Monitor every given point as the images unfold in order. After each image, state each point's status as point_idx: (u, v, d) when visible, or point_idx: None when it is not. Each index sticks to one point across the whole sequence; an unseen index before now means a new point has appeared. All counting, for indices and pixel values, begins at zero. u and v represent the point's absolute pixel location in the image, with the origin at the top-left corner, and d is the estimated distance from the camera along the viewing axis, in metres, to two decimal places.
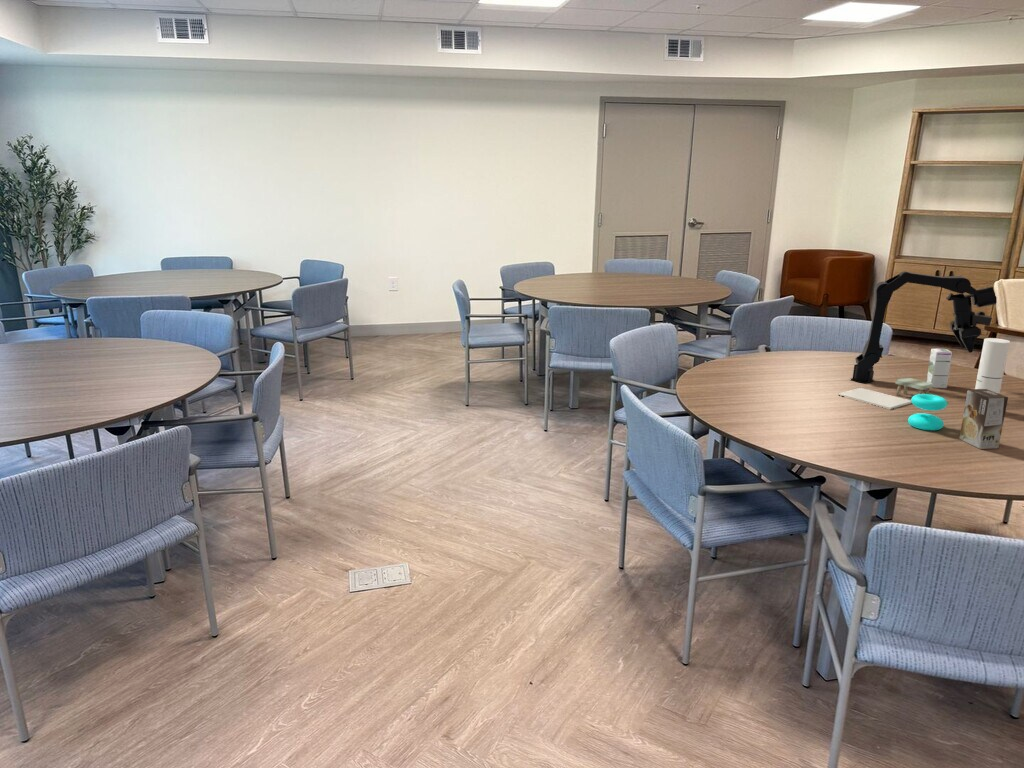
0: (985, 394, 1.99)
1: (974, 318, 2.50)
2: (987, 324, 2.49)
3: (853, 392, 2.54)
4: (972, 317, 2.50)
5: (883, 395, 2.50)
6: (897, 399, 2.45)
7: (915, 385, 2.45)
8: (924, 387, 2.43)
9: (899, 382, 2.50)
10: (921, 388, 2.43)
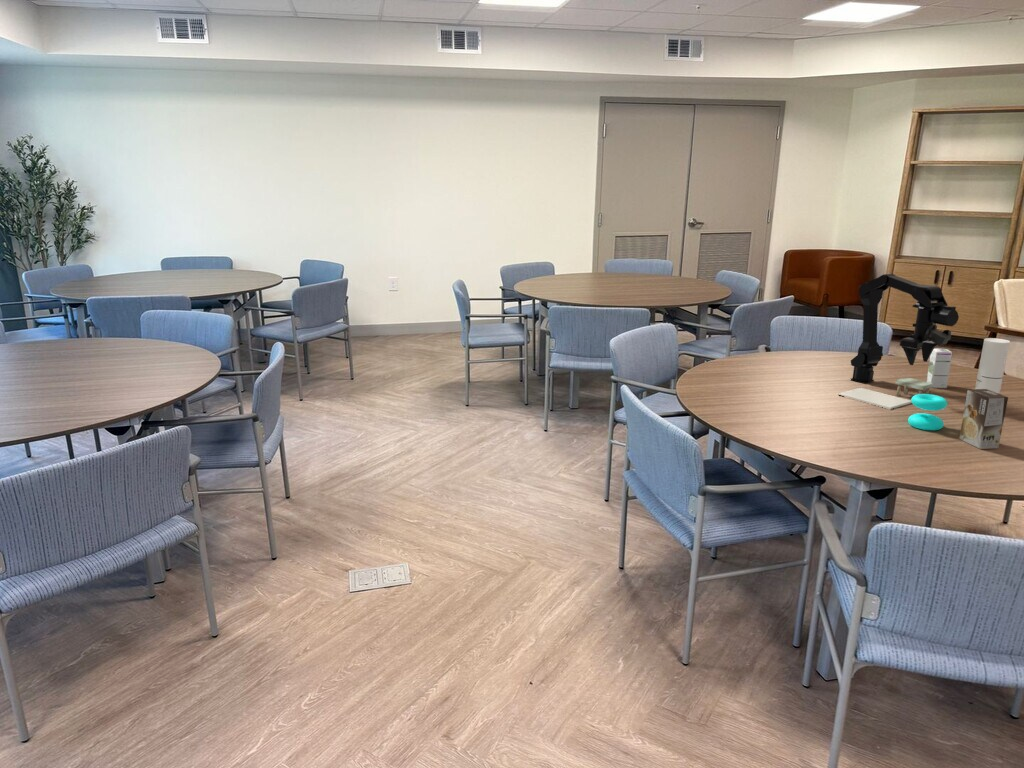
0: (985, 394, 1.99)
1: (927, 332, 2.39)
2: (937, 343, 2.37)
3: (853, 392, 2.54)
4: (926, 331, 2.40)
5: (883, 395, 2.50)
6: (897, 399, 2.45)
7: (915, 385, 2.45)
8: (924, 387, 2.43)
9: (899, 382, 2.50)
10: (921, 388, 2.43)
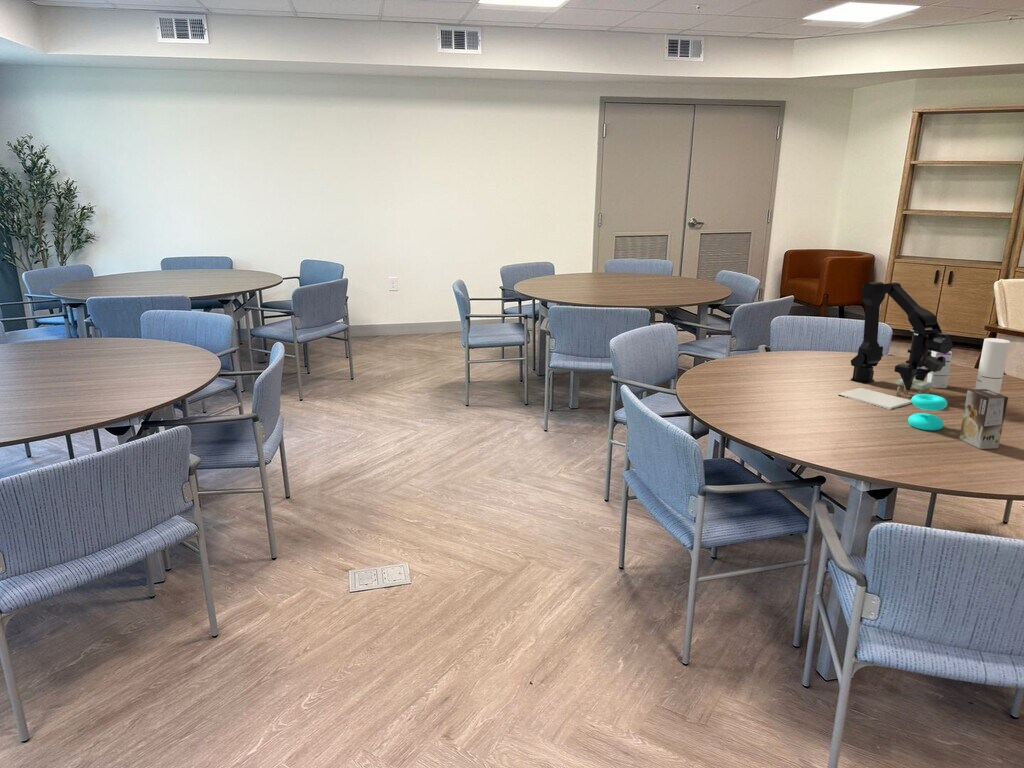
0: (985, 394, 1.99)
1: (921, 359, 2.42)
2: (932, 369, 2.40)
3: (853, 392, 2.54)
4: (921, 357, 2.43)
5: (883, 395, 2.50)
6: (897, 399, 2.45)
7: (915, 385, 2.45)
8: (924, 387, 2.43)
9: (899, 382, 2.50)
10: (921, 388, 2.43)
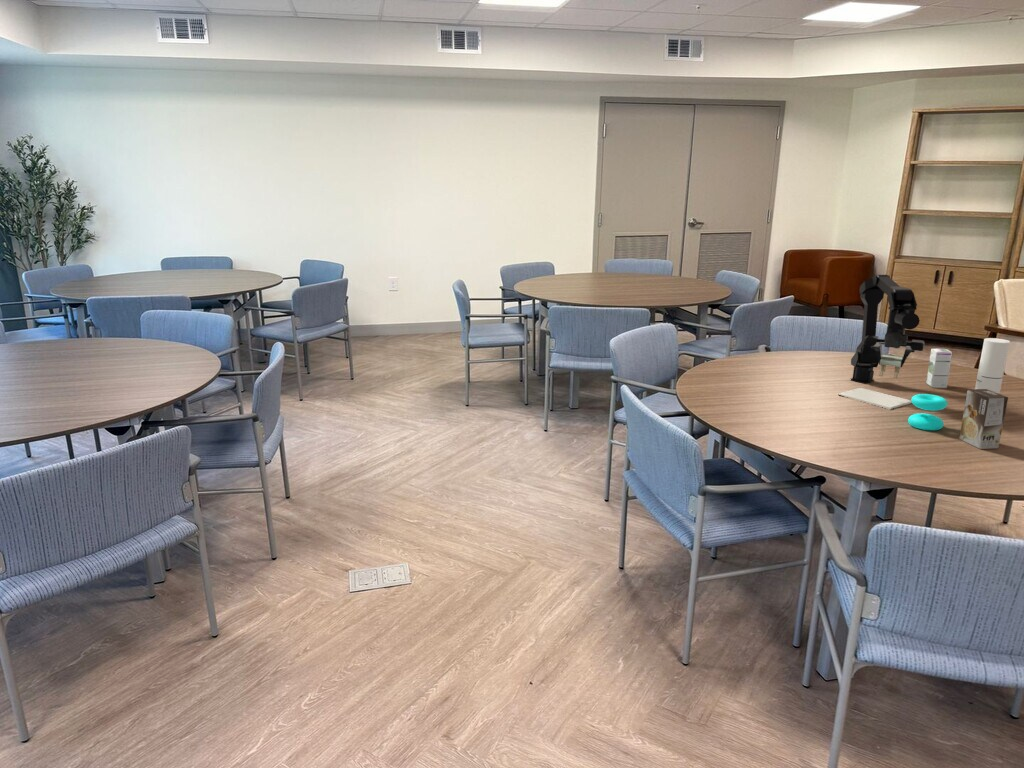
0: (985, 394, 1.99)
1: None
2: None
3: (853, 392, 2.54)
4: None
5: (883, 395, 2.50)
6: (897, 399, 2.45)
7: None
8: (882, 362, 2.42)
9: None
10: None
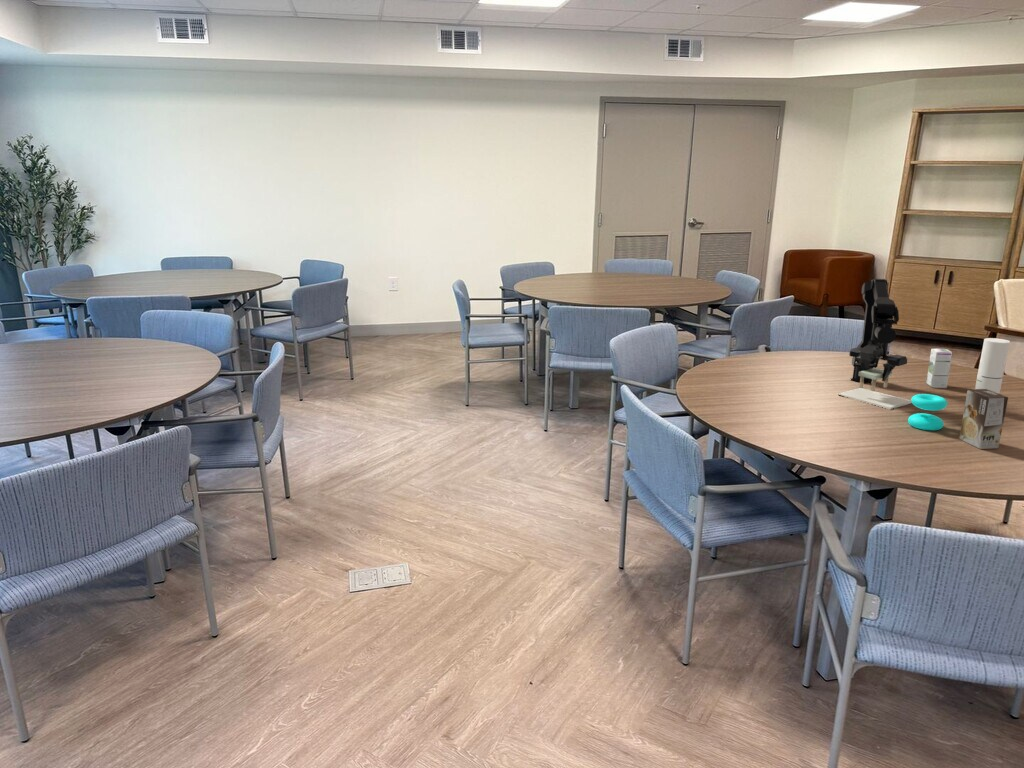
0: (985, 394, 1.99)
1: None
2: None
3: (853, 392, 2.54)
4: None
5: (883, 395, 2.50)
6: (897, 399, 2.45)
7: None
8: (860, 374, 2.46)
9: None
10: None
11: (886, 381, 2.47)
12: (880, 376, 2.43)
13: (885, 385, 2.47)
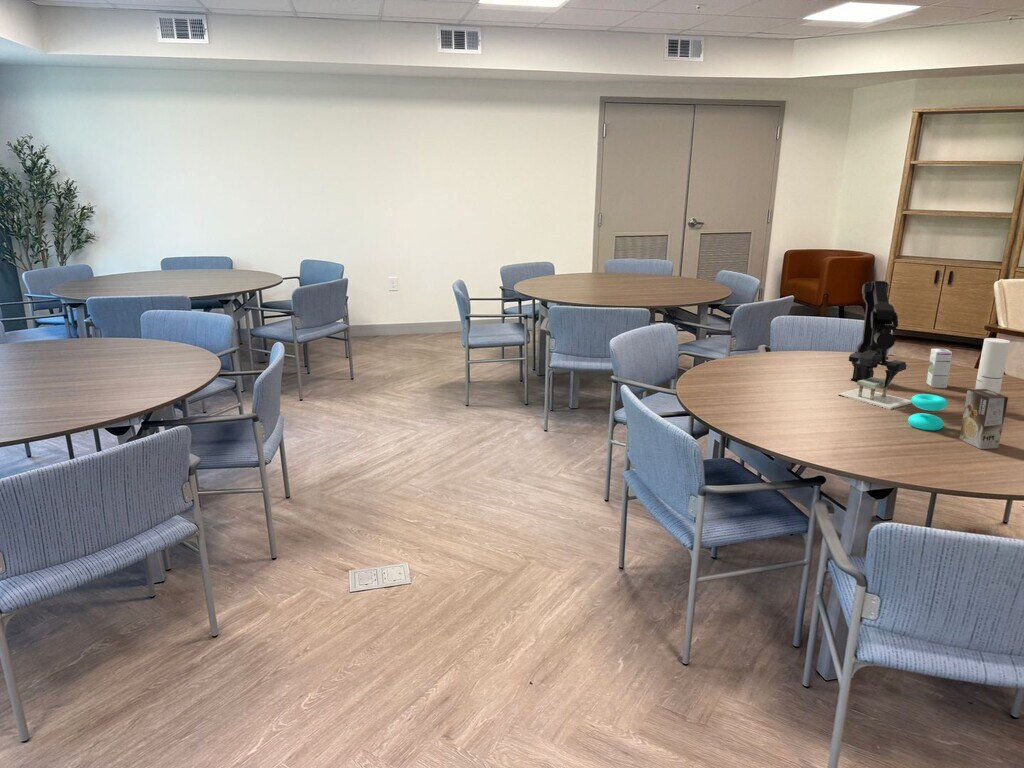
0: (985, 394, 1.99)
1: None
2: None
3: (853, 392, 2.54)
4: None
5: None
6: (897, 399, 2.45)
7: None
8: (859, 383, 2.47)
9: None
10: None
11: (885, 390, 2.48)
12: (879, 385, 2.44)
13: (884, 394, 2.48)
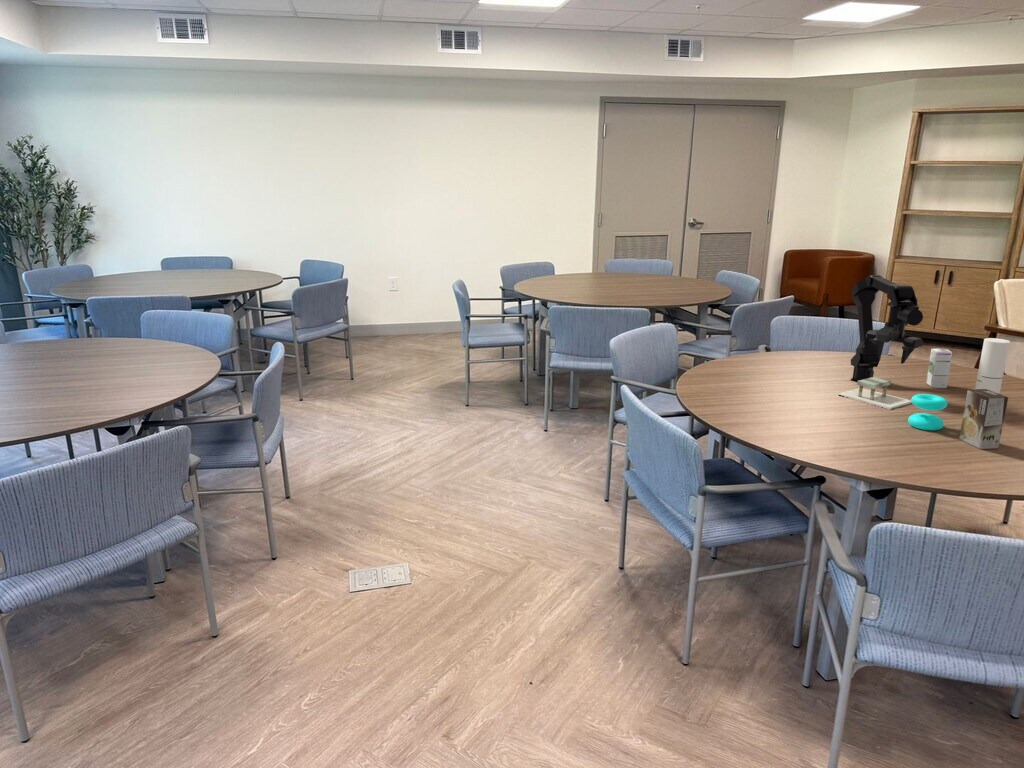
0: (985, 394, 1.99)
1: None
2: None
3: (853, 392, 2.54)
4: None
5: None
6: (897, 399, 2.45)
7: None
8: (859, 383, 2.47)
9: None
10: None
11: (885, 390, 2.48)
12: (879, 385, 2.44)
13: (884, 394, 2.48)
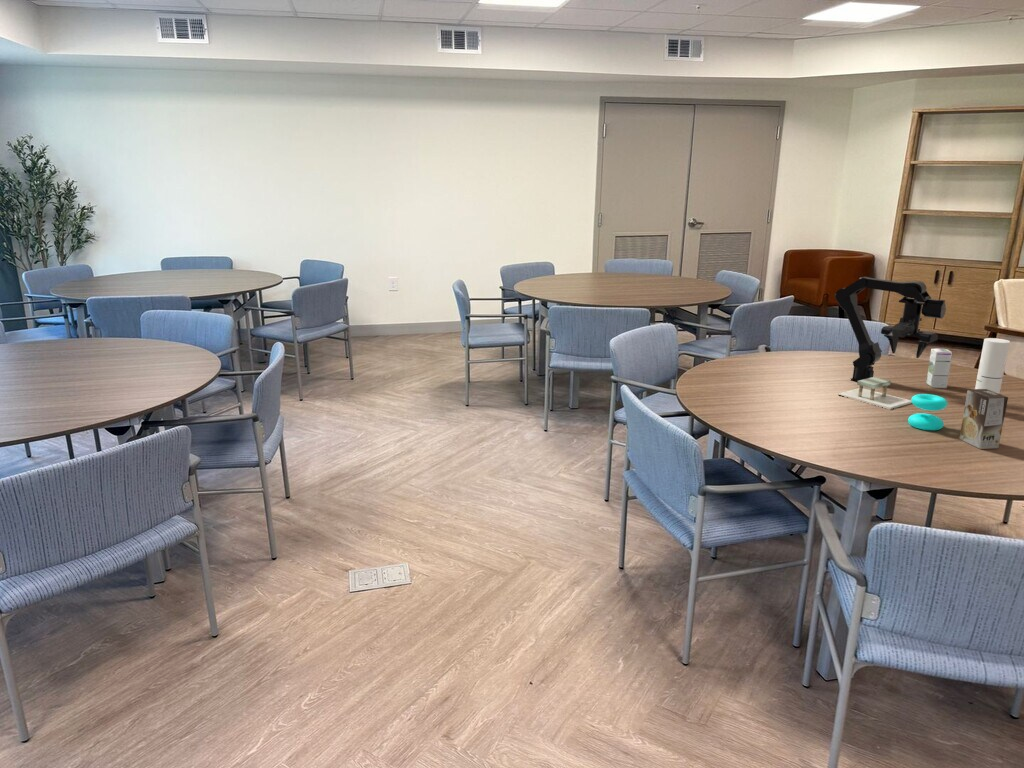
0: (985, 394, 1.99)
1: None
2: None
3: (853, 392, 2.54)
4: None
5: None
6: (897, 399, 2.45)
7: None
8: (859, 383, 2.47)
9: None
10: None
11: (885, 390, 2.48)
12: (879, 385, 2.44)
13: (884, 394, 2.48)
